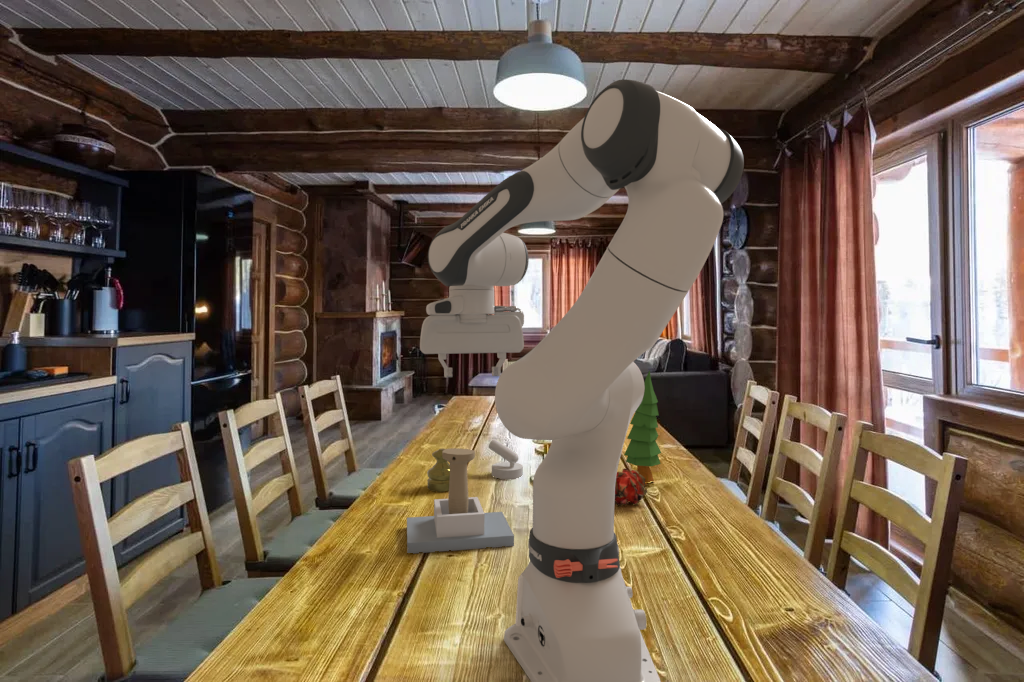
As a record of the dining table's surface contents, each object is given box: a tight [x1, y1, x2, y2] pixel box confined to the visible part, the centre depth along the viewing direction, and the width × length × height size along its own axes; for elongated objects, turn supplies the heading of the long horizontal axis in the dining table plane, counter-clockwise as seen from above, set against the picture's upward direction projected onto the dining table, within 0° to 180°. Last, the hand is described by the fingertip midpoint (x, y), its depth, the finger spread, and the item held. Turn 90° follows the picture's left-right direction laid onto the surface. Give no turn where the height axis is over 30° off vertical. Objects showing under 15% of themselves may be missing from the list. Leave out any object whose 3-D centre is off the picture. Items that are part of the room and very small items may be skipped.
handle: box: [442, 447, 476, 514], centre depth 108 cm, size 5×6×15 cm
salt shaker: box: [426, 448, 450, 493], centre depth 139 cm, size 7×7×10 cm
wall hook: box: [488, 438, 524, 480], centre depth 151 cm, size 9×10×10 cm
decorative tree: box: [623, 370, 662, 482], centre depth 146 cm, size 10×9×30 cm
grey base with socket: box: [406, 496, 515, 554], centre depth 109 cm, size 13×20×6 cm, turn 101°
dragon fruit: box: [615, 468, 648, 506], centre depth 129 cm, size 8×8×12 cm
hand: (472, 376), depth 107 cm, fingers open, 8 cm apart
